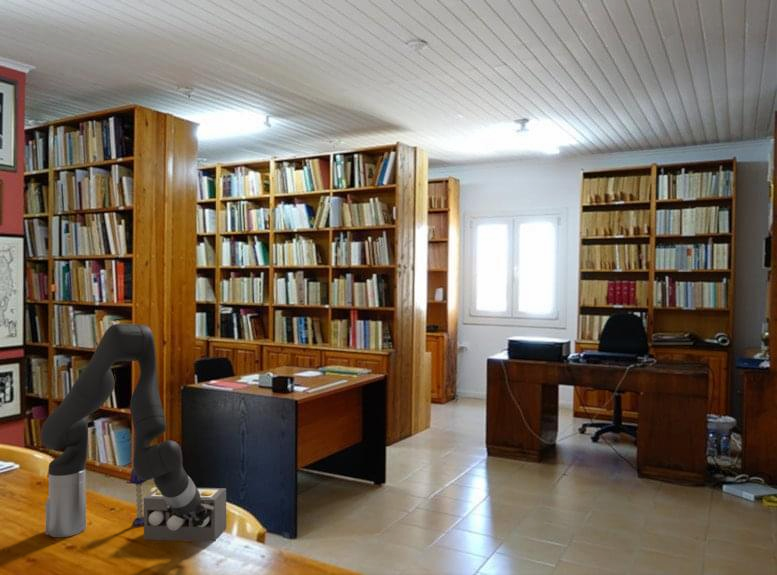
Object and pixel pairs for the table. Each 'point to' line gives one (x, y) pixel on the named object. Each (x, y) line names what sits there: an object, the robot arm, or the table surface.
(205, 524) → the button right
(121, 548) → the table surface
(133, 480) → the toy lamp
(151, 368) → the robot arm
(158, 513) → the button left
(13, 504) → the table surface
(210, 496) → the button box
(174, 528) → the button middle
